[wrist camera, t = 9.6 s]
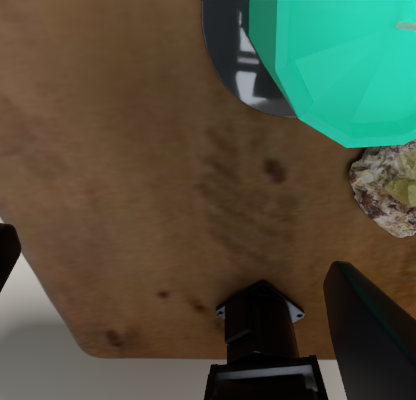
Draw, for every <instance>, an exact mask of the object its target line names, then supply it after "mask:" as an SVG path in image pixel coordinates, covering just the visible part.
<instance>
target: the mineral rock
mask: <svg viewBox="0 0 416 400" xmlns="http://www.w3.org/2000/svg"><path fill="white" fill-rule="evenodd" d="M348 174H349V178H350V182H349V183H350V185H351V186H352V188H353V190H354V192H355V196H354V198H355V199H356V200H357V202H358V204H359V207H360V208H361V209H362V210H363V211H364V212H365V213H366V214H367V215H368V216H369V217H370V218H371V219H373V220H375V221H376V223H377V224H378V225H379V226H381V227H382V228H384V229H385V230H386V231H388V232H389V233H391V234H392V235H393V236H396V237H405V236H409V235H410V236H413V235H414V234H415V232H416V139H414V140H412V141H410V142H408V143H406V144H404V145H390V146H374V147H368V148H367V149H366V151H365V152H364V154H363V156H362V158H361V159H360V160H359V161H357V162H353V164H352V167H351V170H350V171H349V172H348Z"/></svg>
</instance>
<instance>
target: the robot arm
mask: <svg viewBox="0 0 416 400" xmlns="http://www.w3.org/2000/svg"><path fill="white" fill-rule="evenodd" d="M20 253H21V244H20V241H19V238H18V235H17V232H16V229H15V227H14V226H13V225H11V224H4V223H0V292H1V290H2V288H3V286H4V284H5V282H6V281H7V279H8V277H9V275H10V273H11V271H12V269H13V267H14V265H15V263H16V261H17V259H18V258H19V256H20ZM323 289H324V296H325V302H326V308H327V315H328V321H329V328H330V334H331V339H332V344H333V348H334V352H335V355H336V359H337V362H338V366H339V370H340V374H341V377H342V381H343V385H344V389H345V392H346V396H347V400H416V320H415V319H414V318H413V317H411V316H410V315H409V314H408V313H407V312H406V311H405V310H403V309H402V308H401V307H400V306H399V305H398V304H397V303H395V302H394V301H393V300H392V299H391V298H390V297H389V296H387V295H386V294H385V293H384V292H383V291H382V290H381V289H379V288H378V287H377V286H376V285H375V284H374V283H373V282H371V281H370V280H369V279H368V278H367V277H366V276H365V275H363V274H362V273H361V272H360V271H359V270H358V269H356V268H355V267H354V266H353V265H352V264H351V263H349V262H343V261H334V262H333V263H332V264H331V266H330V269H329V271H328V273H327V275H326V277H325V280H324V284H323ZM216 314H217V315H218V316H220V317H221V318H223V319H224V320H225V344H227V364H226V365H218V364H213V365H211V367H210V373H209V375H208V379H207V385H206V390H205V396H204V400H328V396H327V393H326V389H325V386H324V382H323V379H322V375H321V372H320V368H319V364H318V361H317V357H316V355H309V357H301V358H300V357H299V352H298V347H297V342H296V338H295V333H294V328H293V323H294V322H296V321H298V320H300V319H302V318H304V317H305V313H304V311H303V310H302V309H301V308H300V307H299V306H297V305H296V304H295V303H293V302H292V301H291V300H290V299H288V298H287V297H286V296H284V295H283V294H282V293H281V292H279V291H278V290H277V289H276V288H274V287H273V286H272V285H270V284H269V283H268V282H266V281H260V282H258V283H256V284H255V285H253V286H251V287H250V288H248V289H246V290H245V291H243V292H241V293H240V294H238V295H236V296H235V297H233V298H231V299H230V300H228V301H226V302H225V303H223V304H221V305H220V306H218V307H217V308H216Z"/></svg>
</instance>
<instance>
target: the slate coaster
mask: <svg viewBox="0 0 416 400" xmlns="http://www.w3.org/2000/svg"><path fill="white" fill-rule="evenodd" d="M249 1H250V0H202V13H201V16H202V29H203V35H204V40H205V45H206V49H207V52H208V55H209V58H210V60H211V62H212V65H213V67H214V69H215V71H216V73H217V74H218V76H219V78H220V79H221V81H222V82H223V83H224V85H225V86H226V87H227V88H228V89H229V91H230V92H231V93H232V94H234V95H235V96H236V97H237V98H238V99H239V100H241V101H242V102H243V103H245V104H246V105H248V106H249V107H251V108H253V109H255V110H257V111H260V112H263V113H266V114H268V115H273V116H278V117H289V118H294V117H297V115H296V114H295V112H294V111H293V109H292V108H291V106H290V104H289V103H288V101H287V100H286V98H285V97H284V95H283V94H282V92H281V91H280V89H279V87H278V86H277V84H276V83H275V81H274V80H273V78H272V77H271V75H270V73H269V72H268V70H267V69H266V67H265V66H264V64H263V63H262V61H261V59H260V57H259V55H258V53H257V51H256V49H255V47H254V45H253V43H252V41H251V39H250V37H249Z"/></svg>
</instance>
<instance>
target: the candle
mask: <svg viewBox="0 0 416 400" xmlns="http://www.w3.org/2000/svg"><path fill="white" fill-rule="evenodd" d="M249 37H250V39H251V41H252V43H253V45H254V47H255V49H256V51H257V53H258V55H259V57H260V59H261V61H262V63H263V64H264V66H265V67H266V69H267V70H268V72H269V73H270V75H271V77H272V78H273V80H274V81H275V83H276V84H277V86H278V87H279V89H280V91H281V92H282V94H283V95H284V97H285V98H286V100H287V101H288V103H289V104H290V106H291V108H292V109H293V111H294V112H295V114H296V115H297V117H298V118H299V119H300V120H301V121H303V122H305V123H306V124H308V125H310V126H311V127H313V128H315V129H316V130H318V131H320V132H321V133H323V134H325V135H326V136H328V137H330V138H331V139H333V140H335V141H336V142H338V143H340V144H341V145H343V146H345V147H346V148H357V147H374V146H390V145H404V144H406V143H408V142H410V141H412V140H414V139H416V0H250V1H249Z"/></svg>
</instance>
